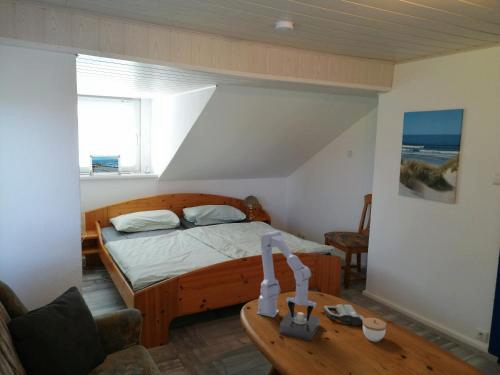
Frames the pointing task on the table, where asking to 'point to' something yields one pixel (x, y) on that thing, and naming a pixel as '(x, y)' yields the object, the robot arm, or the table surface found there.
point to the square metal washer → (299, 327)
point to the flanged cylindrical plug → (300, 318)
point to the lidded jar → (374, 329)
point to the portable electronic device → (344, 314)
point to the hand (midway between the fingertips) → (300, 318)
